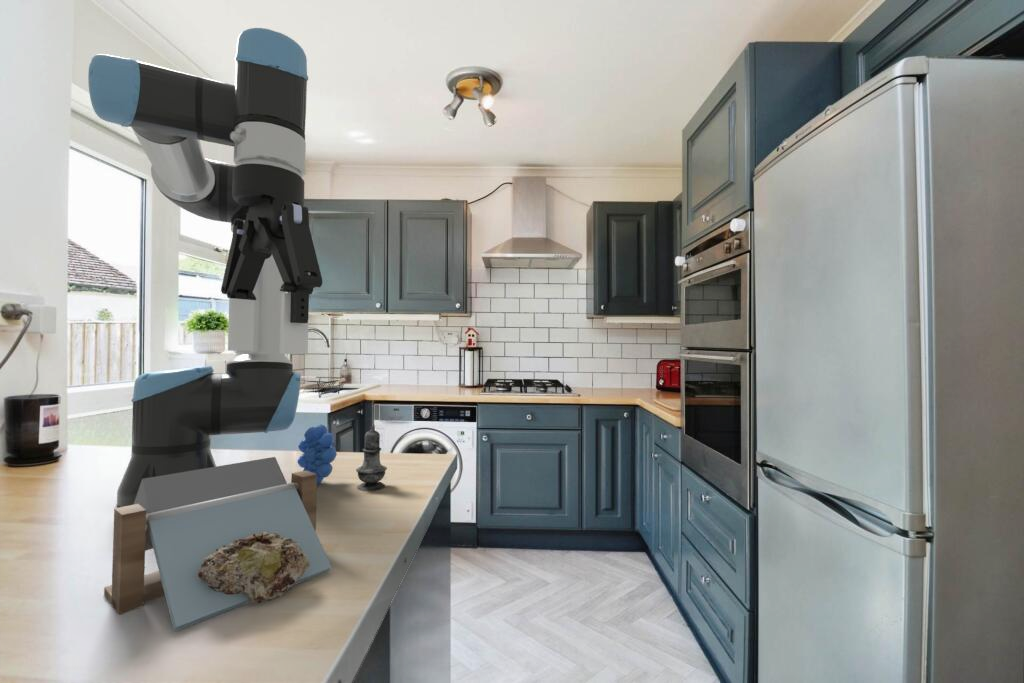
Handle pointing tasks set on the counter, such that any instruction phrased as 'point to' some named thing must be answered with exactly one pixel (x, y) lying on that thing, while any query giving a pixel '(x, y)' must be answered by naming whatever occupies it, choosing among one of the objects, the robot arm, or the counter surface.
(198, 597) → the trapdoor
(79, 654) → the counter surface
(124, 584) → the frame
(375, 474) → the salt shaker
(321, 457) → the grapes
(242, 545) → the mineral rock
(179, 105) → the robot arm
